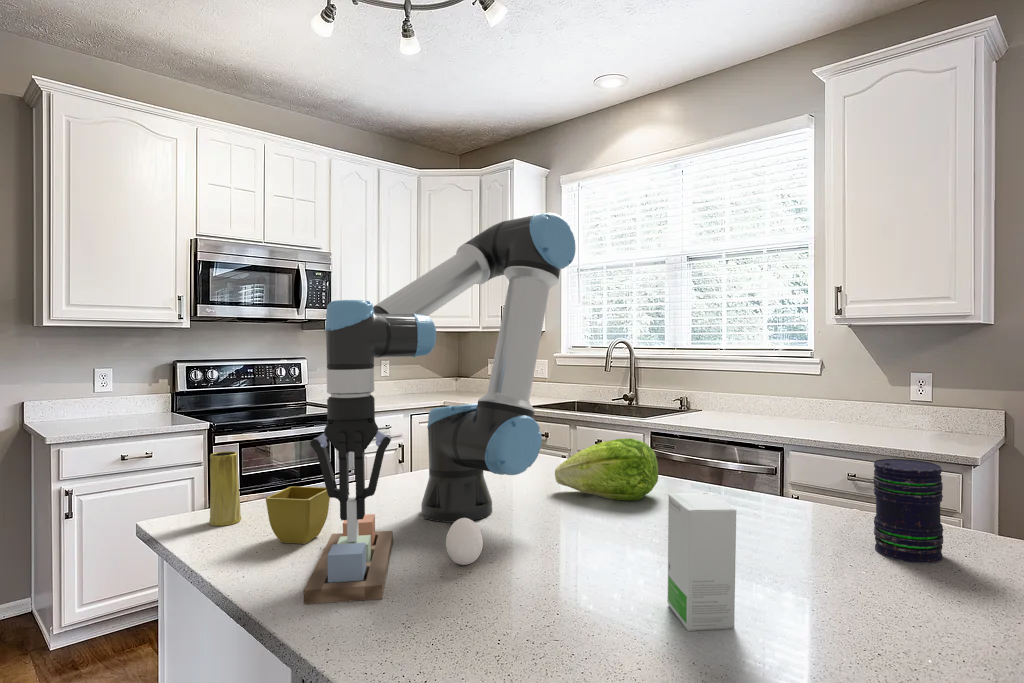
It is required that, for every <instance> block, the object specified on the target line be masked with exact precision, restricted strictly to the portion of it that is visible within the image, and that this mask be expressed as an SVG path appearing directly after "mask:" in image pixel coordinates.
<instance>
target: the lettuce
mask: <svg viewBox="0 0 1024 683" xmlns="http://www.w3.org/2000/svg"><path fill="white" fill-rule="evenodd" d="M554 479H555V483H557V484H558V485H561V486H564V487H568V488H571V489H573V490H576V491H578V492H581V493H583V494H586V495H587V494H588V495H594V496H598V497H600V498H601V497H602V498H605V499H609V500H619V501H630V502H631V501H639V500H640V499H642V498H643V497H645V496H646V495H648V494H649V493H651V492H652V491H653V489H654V487H655V486H656V485H657V483H658V481H659V465H658V459H657V455H656V452H655V451H654V450H653V449H652V447H650V446H649V445H648V444H647V443H646V442H645V441H642V440H639V439H635V438H618V439H612V440H605V441H602V442H601V441H600V442H598V443H596V444H593V445H590V446H588V447H586V448H584V449H582V450H579V451H578V452H577V453H575V454H573V455H572V456H570V457H568V458H567V459H565V461H562V462H561V463H559V465H557V466H556V467H555V470H554Z"/></svg>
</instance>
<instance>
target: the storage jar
mask: <svg viewBox="0 0 1024 683" xmlns="http://www.w3.org/2000/svg"><path fill="white" fill-rule="evenodd" d="M873 468H874V470H873V489H872V490H873V494H874V495H875V515H874V518H873V519H874V520H873V524H874V526H873V535H874V541H875V546H874V549H875V551H876V553H877V554H879V555H881V556H883V557H886V558H888V559H893V560H895V561H899V562H903V563H911V564H912V563H913V564H926V565H927V564H936V563H939V562H942V560H943V559H944V558H943V556H944V555H943V553H942V551H943V544H944V534H943V533H944V528H943V527H944V526H943V524H942V523H941V503H942V501H943V497H944V495H943V487H944V486H943V484H944V483H943V482H942V477H943V476H942V475H941V474H942V471H943V469H942V466H941V465H939V464H936V463H933V462H928V461H924V460H915V459H903V458H882V459H877V460H874V461H873Z"/></svg>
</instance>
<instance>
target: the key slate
mask: <svg viewBox="0 0 1024 683" xmlns="http://www.w3.org/2000/svg"><path fill="white" fill-rule="evenodd" d="M327 557H328V583H341V582H356V581H364V579H363V578H364V575H365V571H366V543H349V544H333V545H332V547H331V549H330V551H329V553H328V555H327Z"/></svg>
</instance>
